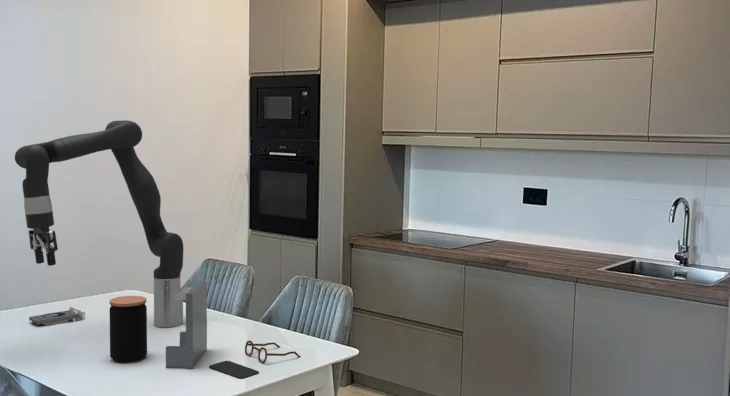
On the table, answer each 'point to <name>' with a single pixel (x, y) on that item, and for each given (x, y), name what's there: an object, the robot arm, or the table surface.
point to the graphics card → (58, 317)
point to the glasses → (265, 350)
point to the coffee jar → (128, 329)
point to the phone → (233, 369)
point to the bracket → (191, 329)
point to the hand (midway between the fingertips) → (45, 264)
